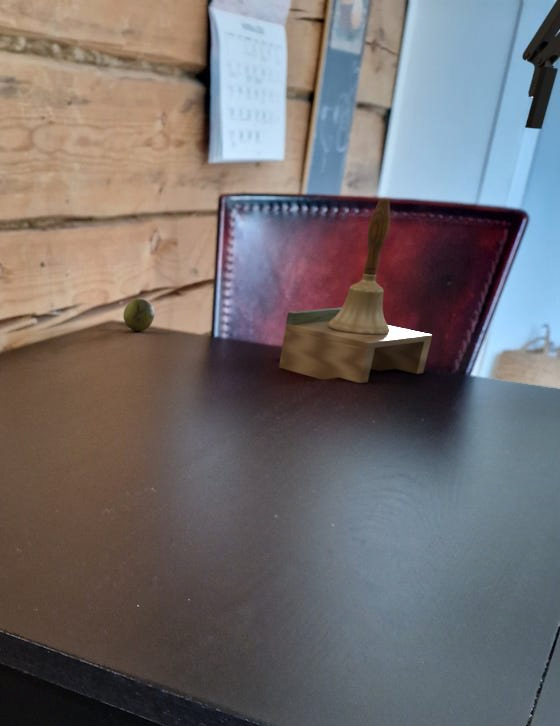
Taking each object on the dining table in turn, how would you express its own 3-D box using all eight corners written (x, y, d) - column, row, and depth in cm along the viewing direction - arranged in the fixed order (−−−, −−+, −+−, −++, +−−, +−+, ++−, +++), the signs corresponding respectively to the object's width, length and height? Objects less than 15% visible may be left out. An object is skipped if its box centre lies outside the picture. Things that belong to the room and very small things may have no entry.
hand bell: (397, 336, 114) (427, 202, 106) (335, 332, 114) (361, 198, 106) (379, 325, 121) (406, 199, 113) (321, 321, 121) (344, 195, 113)
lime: (118, 329, 141) (120, 297, 138) (141, 328, 143) (144, 296, 141) (134, 334, 138) (137, 302, 135) (158, 332, 140) (161, 300, 138)
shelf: (421, 379, 120) (435, 323, 116) (358, 390, 112) (371, 330, 108) (341, 359, 129) (352, 306, 125) (278, 367, 122) (287, 312, 118)
